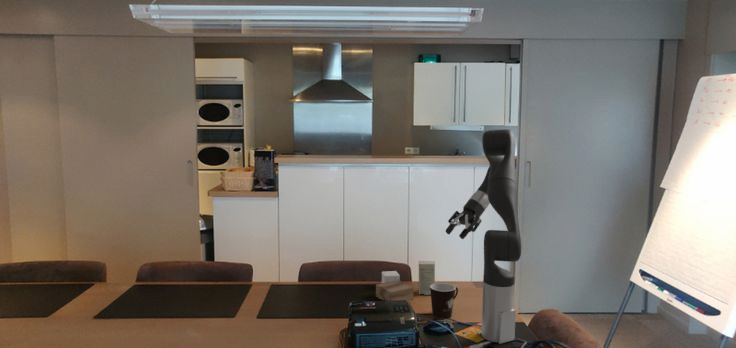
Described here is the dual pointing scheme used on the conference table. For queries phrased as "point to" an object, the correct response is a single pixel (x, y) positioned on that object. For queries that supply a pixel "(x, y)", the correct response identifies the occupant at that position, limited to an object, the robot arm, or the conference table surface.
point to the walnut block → (394, 291)
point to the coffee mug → (442, 299)
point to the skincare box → (426, 276)
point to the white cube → (390, 276)
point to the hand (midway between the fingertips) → (453, 235)
